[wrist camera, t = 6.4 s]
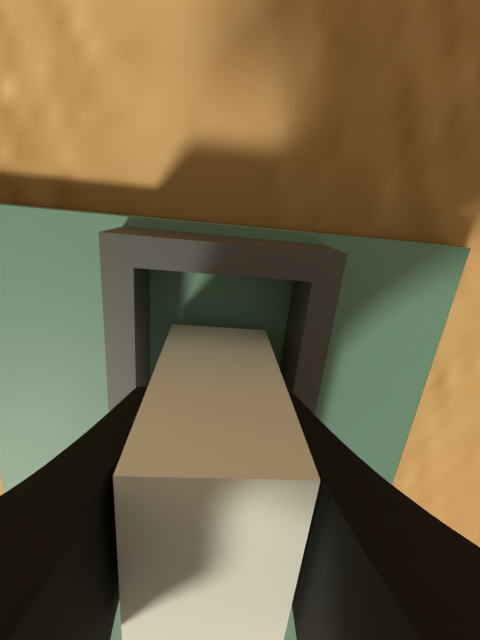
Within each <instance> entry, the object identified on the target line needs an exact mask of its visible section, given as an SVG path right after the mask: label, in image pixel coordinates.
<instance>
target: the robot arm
mask: <svg viewBox="0 0 480 640" xmlns="http://www.w3.org/2000/svg"><path fill="white" fill-rule="evenodd" d="M146 390H147V387H138V386H137V387H136V388H135V389H134V390H133V391H131V392H130V393H129V394H128V395H127V396H126V397H125V398H124V399H123V400H122V401H120V402H119V403H118V404H117V405H116V406H115V407H114V408H113V409H112V410H111V411H110V412H108V413H107V414H106V415H105V416H104V417H103V418H102V419H101V420H99V421H98V422H97V423H96V424H95V425H94V426H92V427H91V428H90V429H89V430H88V431H87V432H86V433H84V434H83V435H82V436H81V437H80V438H78V439H77V440H76V441H75V442H74V443H72V444H71V445H70V446H68V447H67V448H66V449H65V450H63V451H62V452H61V453H60V454H58V455H57V456H56V457H54V458H53V459H52V460H51V461H49V462H48V463H47V464H46V465H44V466H43V467H42V468H40V469H39V470H37V471H36V472H35V473H33V474H32V475H30V476H29V477H28V478H26V479H25V480H23V481H22V482H20V483H19V484H17V485H16V486H14V487H13V488H11V489H10V490H9V491H7V492H6V493H4V494H3V495H1V496H0V640H110V638H111V634H112V629H113V625H114V620H115V616H116V611H117V607H118V604H119V600H120V596H119V578H118V560H117V542H116V523H115V505H114V487H113V475H114V472H115V469H116V467H117V464H118V462H119V459H120V457H121V454H122V451H123V449H124V446H125V444H126V441H127V439H128V436H129V433H130V431H131V428H132V426H133V423H134V421H135V418H136V416H137V413H138V410H139V408H140V405H141V403H142V400H143V398H144V395H145V392H146ZM289 396H290V399H291V401H292V404H293V407H294V410H295V412H296V415H297V418H298V420H299V423H300V426H301V429H302V431H303V434H304V437H305V439H306V442H307V445H308V448H309V450H310V453H311V456H312V458H313V461H314V464H315V467H316V469H317V472H318V475H319V477H320V480H321V481H320V485H319V489H318V494H317V498H316V502H315V507H314V511H313V515H312V520H311V524H310V528H309V533H308V537H307V541H306V545H305V550H304V554H303V558H302V563H301V567H300V571H299V576H298V580H297V584H296V589H295V593H294V597H293V602H292V610H293V617H294V624H295V631H296V638H297V640H480V547H478V546H477V545H475V544H474V543H472V542H471V541H469V540H468V539H466V538H465V537H463V536H462V535H460V534H459V533H457V532H456V531H454V530H453V529H451V528H450V527H448V526H447V525H445V524H444V523H442V522H441V521H440V520H438V519H437V518H435V517H434V516H433V515H431V514H430V513H428V512H427V511H426V510H424V509H423V508H422V507H420V506H419V505H418V504H416V503H415V502H414V501H412V500H411V499H410V498H408V497H407V496H406V495H404V494H403V493H402V492H400V491H399V490H398V489H396V488H395V487H394V486H393V485H391V484H390V483H389V482H388V481H386V480H385V479H384V478H383V477H382V476H380V475H379V474H378V473H377V472H376V471H374V470H373V469H372V468H371V467H370V466H369V465H368V464H366V463H365V462H364V461H363V460H362V459H361V458H359V457H358V456H357V455H356V454H355V453H354V452H353V451H352V450H351V449H349V448H348V447H347V446H346V445H345V444H344V443H343V442H342V441H341V440H340V439H339V438H338V437H337V436H336V435H335V434H334V433H332V432H331V431H330V430H329V429H328V428H327V427H326V426H325V425H324V424H323V423H322V422H321V421H320V420H319V419H318V418H317V417H316V416H315V415H314V414H313V413H312V412H311V410H310V409H309V408H308V407H307V406H306V405H305V404H304V403H303V402H302V401H301V400H300V399H299V398H298V397H297V396H296V395H294V394H291V393H289Z"/></svg>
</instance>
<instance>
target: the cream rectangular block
mask: <svg viewBox="0 0 480 640" xmlns="http://www.w3.org/2000/svg"><path fill="white" fill-rule="evenodd" d="M320 481H321V480H320V477H319V475H318V472H317V469H316V467H315V464H314V461H313V458H312V456H311V453H310V450H309V448H308V445H307V442H306V439H305V437H304V434H303V431H302V429H301V426H300V423H299V420H298V418H297V415H296V412H295V410H294V407H293V404H292V401H291V399H290V396H289V393H288V390H287V388H286V385H285V382H284V380H283V377H282V374H281V371H280V369H279V366H278V363H277V361H276V358H275V355H274V352H273V350H272V347H271V344H270V342H269V339H268V336H267V333H266V331H265V330H256V329H240V328H224V327H209V326H193V325H177V324H172V326H171V328H170V331H169V333H168V336H167V338H166V341H165V344H164V346H163V349H162V351H161V354H160V356H159V359H158V362H157V364H156V367H155V369H154V372H153V374H152V377H151V380H150V382H149V385H148V387H147V390H146V392H145V395H144V398H143V400H142V403H141V405H140V408H139V410H138V413H137V416H136V418H135V421H134V423H133V426H132V428H131V431H130V433H129V436H128V439H127V441H126V444H125V446H124V449H123V451H122V454H121V457H120V459H119V462H118V464H117V467H116V469H115V472H114V475H113V487H114V505H115V523H116V542H117V560H118V578H119V596H120V614H121V632H122V640H284V636H285V632H286V627H287V623H288V619H289V614H290V610H291V606H292V602H293V597H294V593H295V589H296V584H297V580H298V576H299V571H300V567H301V563H302V558H303V554H304V550H305V545H306V541H307V537H308V533H309V528H310V524H311V520H312V515H313V511H314V507H315V502H316V498H317V494H318V489H319V485H320Z"/></svg>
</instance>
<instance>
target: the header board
mask: <svg viewBox="0 0 480 640" xmlns="http://www.w3.org/2000/svg"><path fill="white" fill-rule="evenodd" d="M469 251H470V248H466V247H460V246H455V245H448V244H438V243H427V242H416V241H406V240H395V239H384V238H373V237H363V236H352V235H341V234H330V233H320V232H309V231H298V230H287V229H277V228H266V227H255V226H244V225H234V224H223V223H212V222H202V221H191V220H180V219H169V218H159V217H148V216H137V215H126V214H116V213H105V212H94V211H83V210H73V209H62V208H51V207H40V206H30V205H19V204H8V203H0V473H1V478H2V483H3V488H4V493H6V492H7V491H9V490H10V489H11V488H13V487H14V486H16V485H17V484H19V483H20V482H22V481H23V480H25V479H26V478H28V477H29V476H30V475H32V474H33V473H35V472H36V471H37V470H39V469H40V468H42V467H43V466H44V465H46V464H47V463H48V462H49V461H51V460H52V459H53V458H54V457H56V456H57V455H58V454H60V453H61V452H62V451H63V450H65V449H66V448H67V447H68V446H70V445H71V444H72V443H74V442H75V441H76V440H77V439H78V438H80V437H81V436H82V435H83V434H84V433H86V432H87V431H88V430H89V429H90V428H91V427H92V426H94V425H95V424H96V423H97V422H98V421H99V420H101V419H102V418H103V417H104V416H105V415H106V414H107V413H108V412H110V411H111V410H112V409H113V408H114V407H115V406H116V405H117V404H118V403H119V402H120V401H122V400H123V399H124V398H125V397H126V396H127V395H128V394H129V393H130V392H131V391H133V390H134V389H135V388H136V387H137V386H138V387H148V385H149V382H150V380H151V377H152V374H153V372H154V369H155V367H156V364H157V362H158V359H159V356H160V354H161V351H162V349H163V346H164V344H165V341H166V338H167V336H168V333H169V331H170V328H171V326H172V324H177V325H193V326H209V327H224V328H240V329H256V330H265V331H266V333H267V336H268V339H269V342H270V344H271V347H272V350H273V352H274V355H275V358H276V361H277V363H278V366H279V369H280V371H281V374H282V377H283V380H284V382H285V385H286V388H287V390H288V393H291V394H294V395H296V396H297V397H298V398H299V399H300V400H301V401H302V402H303V403H304V404H305V405H306V406H307V407H308V408H309V409H310V410H311V412H312V413H313V414H314V415H315V416H316V417H317V418H318V419H319V420H320V421H321V422H322V423H323V424H324V425H325V426H326V427H327V428H328V429H329V430H330V431H331V432H332V433H334V434H335V435H336V436H337V437H338V438H339V439H340V440H341V441H342V442H343V443H344V444H345V445H346V446H347V447H348V448H349V449H351V450H352V451H353V452H354V453H355V454H356V455H357V456H358V457H359V458H361V459H362V460H363V461H364V462H365V463H366V464H368V465H369V466H370V467H371V468H372V469H373V470H374V471H376V472H377V473H378V474H379V475H380V476H382V477H383V478H384V479H385V480H386V481H388V482H389V483H390V484H391V485H392V483H393V480H394V477H395V474H396V471H397V468H398V465H399V462H400V459H401V456H402V453H403V450H404V447H405V444H406V441H407V438H408V435H409V432H410V429H411V426H412V423H413V420H414V417H415V414H416V411H417V408H418V405H419V402H420V399H421V396H422V393H423V390H424V387H425V384H426V381H427V378H428V375H429V372H430V369H431V366H432V363H433V360H434V357H435V354H436V351H437V348H438V345H439V342H440V339H441V336H442V333H443V330H444V327H445V324H446V321H447V318H448V315H449V312H450V309H451V306H452V303H453V300H454V296H455V293H456V290H457V287H458V284H459V281H460V278H461V275H462V272H463V269H464V266H465V263H466V260H467V257H468V254H469ZM110 640H122V632H121V614H120V600H119V604H118V607H117V611H116V616H115V620H114V625H113V629H112V634H111V638H110ZM284 640H297V638H296V631H295V624H294V617H293V610H292V606H291V610H290V614H289V619H288V623H287V627H286V632H285V636H284Z"/></svg>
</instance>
